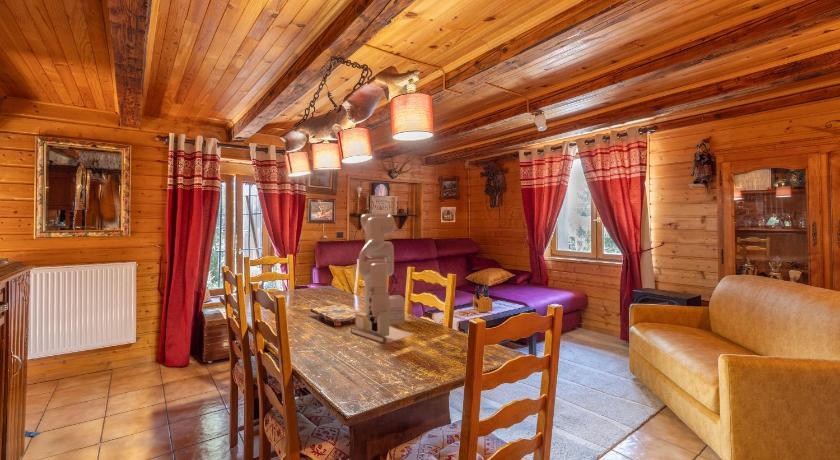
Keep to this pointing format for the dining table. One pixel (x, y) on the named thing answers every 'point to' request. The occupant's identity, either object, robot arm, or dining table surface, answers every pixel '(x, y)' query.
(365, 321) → the faced box
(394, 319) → the supplement box
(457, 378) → the dining table surface
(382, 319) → the tea box
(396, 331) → the shelf
